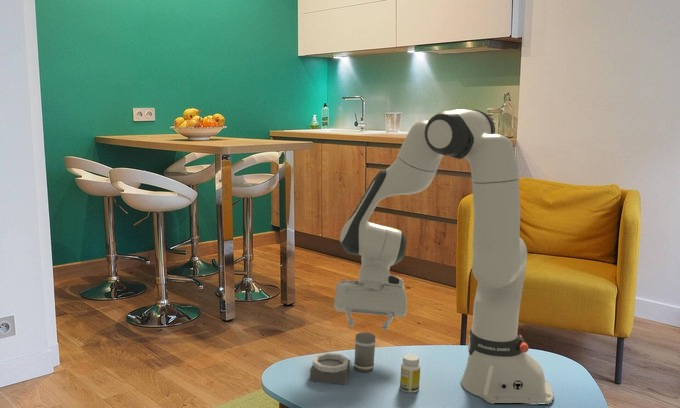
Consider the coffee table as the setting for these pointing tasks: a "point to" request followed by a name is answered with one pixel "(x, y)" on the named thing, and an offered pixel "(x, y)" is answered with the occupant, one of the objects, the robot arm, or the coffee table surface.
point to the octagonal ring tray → (330, 368)
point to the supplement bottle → (410, 373)
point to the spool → (364, 352)
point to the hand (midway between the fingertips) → (367, 327)
